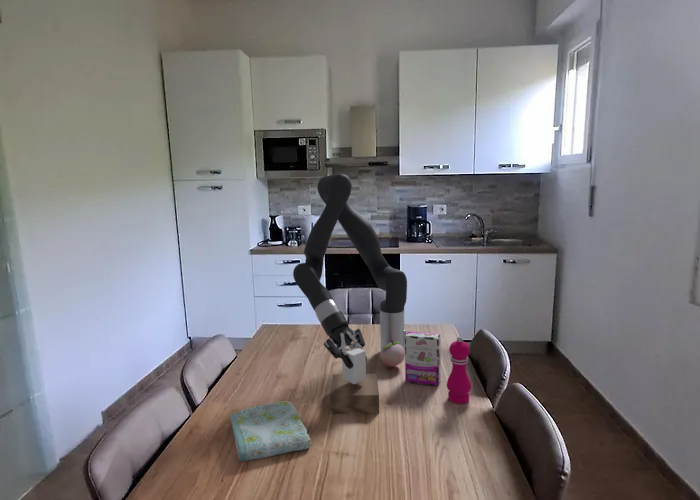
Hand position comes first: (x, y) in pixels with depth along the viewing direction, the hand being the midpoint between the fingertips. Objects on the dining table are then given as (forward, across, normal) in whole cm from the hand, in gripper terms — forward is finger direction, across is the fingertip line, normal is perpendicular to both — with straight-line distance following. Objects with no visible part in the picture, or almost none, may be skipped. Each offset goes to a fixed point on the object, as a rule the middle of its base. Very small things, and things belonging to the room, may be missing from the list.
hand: (358, 364), depth 134 cm
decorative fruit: (+2, +26, +16) cm, 31 cm away
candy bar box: (+12, +25, +6) cm, 29 cm away
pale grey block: (+2, 0, +5) cm, 6 cm away
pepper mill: (+23, +23, -5) cm, 33 cm away
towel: (+6, -29, +13) cm, 32 cm away
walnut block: (+8, 0, +10) cm, 13 cm away
